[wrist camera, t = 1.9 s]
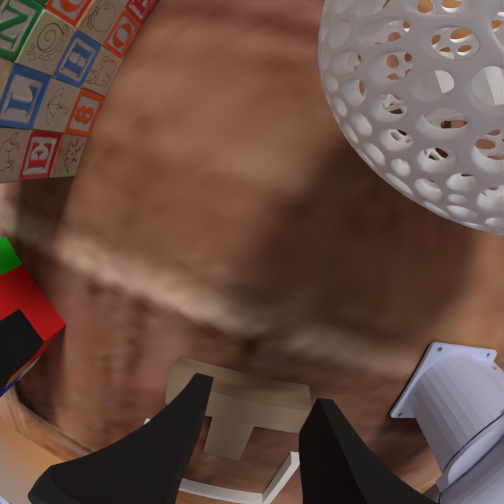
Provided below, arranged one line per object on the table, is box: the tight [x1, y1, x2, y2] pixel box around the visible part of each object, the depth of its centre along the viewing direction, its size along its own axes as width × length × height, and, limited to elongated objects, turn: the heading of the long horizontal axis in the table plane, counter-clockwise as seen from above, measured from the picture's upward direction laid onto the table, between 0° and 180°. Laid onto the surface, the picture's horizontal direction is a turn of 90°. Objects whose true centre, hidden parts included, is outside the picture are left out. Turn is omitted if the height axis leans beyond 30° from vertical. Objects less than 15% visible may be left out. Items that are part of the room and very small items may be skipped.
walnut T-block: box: [165, 356, 312, 461], centre depth 20 cm, size 10×8×3 cm
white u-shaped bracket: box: [144, 419, 300, 504], centre depth 23 cm, size 15×11×2 cm
